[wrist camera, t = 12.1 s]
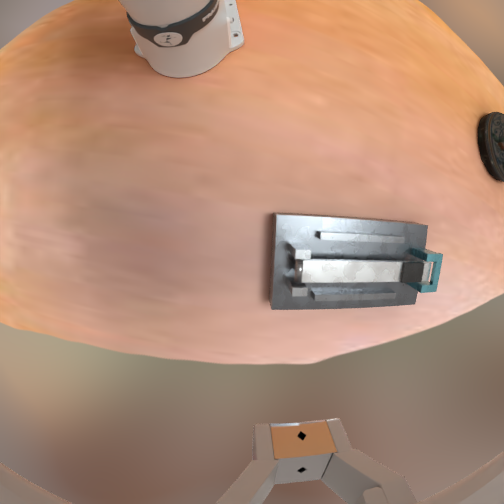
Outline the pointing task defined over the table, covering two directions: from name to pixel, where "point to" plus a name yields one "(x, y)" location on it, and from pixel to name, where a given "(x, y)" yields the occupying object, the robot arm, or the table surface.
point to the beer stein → (492, 143)
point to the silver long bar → (360, 271)
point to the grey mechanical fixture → (345, 248)
